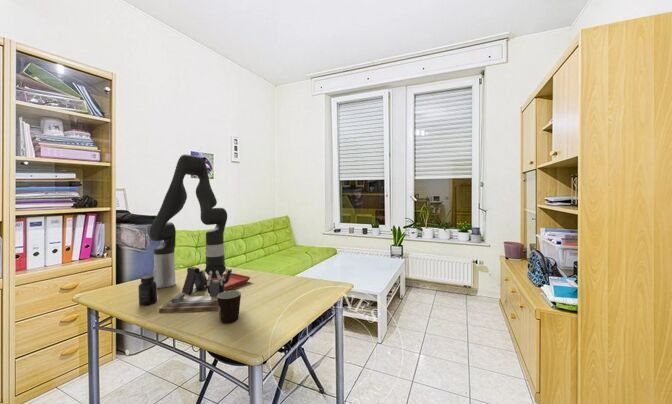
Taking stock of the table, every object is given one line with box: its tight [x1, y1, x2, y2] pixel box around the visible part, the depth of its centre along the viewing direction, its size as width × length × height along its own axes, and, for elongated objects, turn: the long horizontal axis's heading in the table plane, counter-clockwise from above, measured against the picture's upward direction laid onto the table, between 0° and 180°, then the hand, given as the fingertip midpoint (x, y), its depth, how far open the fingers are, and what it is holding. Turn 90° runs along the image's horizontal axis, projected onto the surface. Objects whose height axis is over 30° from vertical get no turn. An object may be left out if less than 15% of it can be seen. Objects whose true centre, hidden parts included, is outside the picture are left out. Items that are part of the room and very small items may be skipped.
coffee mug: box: [217, 290, 242, 325], centre depth 108 cm, size 12×9×10 cm
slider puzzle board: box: [158, 292, 219, 313], centre depth 124 cm, size 28×13×4 cm, turn 95°
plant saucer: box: [205, 272, 252, 292], centre depth 152 cm, size 18×18×3 cm
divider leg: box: [209, 280, 220, 301], centre depth 124 cm, size 4×7×8 cm, turn 5°
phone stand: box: [181, 266, 207, 296], centre depth 141 cm, size 9×6×12 cm, turn 146°
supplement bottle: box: [137, 274, 158, 307], centre depth 126 cm, size 7×7×12 cm
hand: (216, 293), depth 124 cm, fingers closed on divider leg, 4 cm apart
